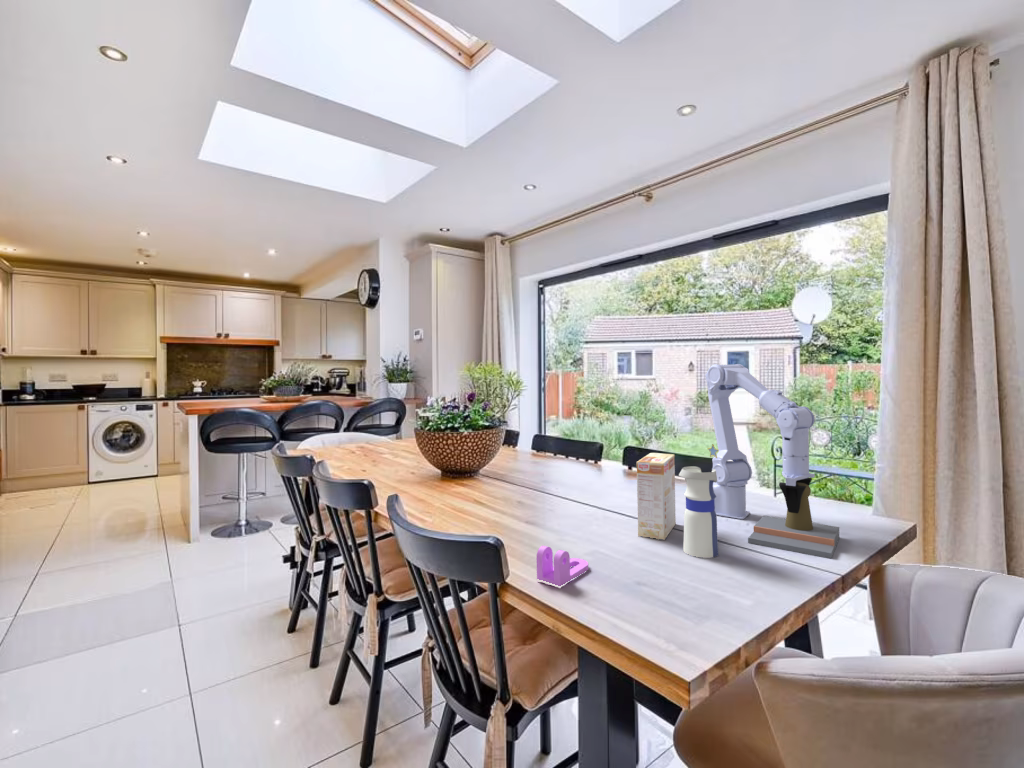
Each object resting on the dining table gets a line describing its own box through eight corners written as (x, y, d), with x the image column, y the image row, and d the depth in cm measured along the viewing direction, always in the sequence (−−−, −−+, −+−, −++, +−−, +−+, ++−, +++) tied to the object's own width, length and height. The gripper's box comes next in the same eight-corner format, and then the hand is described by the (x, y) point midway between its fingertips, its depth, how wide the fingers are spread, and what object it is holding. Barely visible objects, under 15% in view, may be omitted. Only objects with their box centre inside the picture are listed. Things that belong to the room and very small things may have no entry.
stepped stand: (748, 542, 117) (748, 532, 117) (763, 525, 130) (763, 515, 130) (831, 558, 106) (831, 547, 106) (839, 537, 119) (839, 527, 119)
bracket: (560, 589, 94) (559, 554, 94) (537, 582, 97) (536, 548, 97) (593, 568, 104) (592, 536, 104) (571, 562, 107) (570, 531, 107)
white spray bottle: (690, 542, 118) (688, 441, 117) (725, 551, 112) (724, 444, 111) (674, 551, 112) (672, 445, 112) (710, 561, 106) (709, 448, 105)
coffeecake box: (650, 520, 136) (649, 452, 136) (676, 524, 132) (675, 453, 132) (636, 536, 123) (635, 461, 123) (664, 540, 119) (663, 463, 119)
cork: (806, 523, 122) (806, 480, 122) (817, 531, 116) (817, 486, 116) (781, 522, 123) (780, 480, 123) (790, 530, 117) (790, 485, 117)
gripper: (809, 461, 112) (810, 518, 112) (818, 452, 123) (818, 505, 123) (775, 458, 116) (776, 513, 116) (787, 450, 127) (787, 501, 128)
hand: (796, 509), depth 120 cm, fingers open, 7 cm apart
